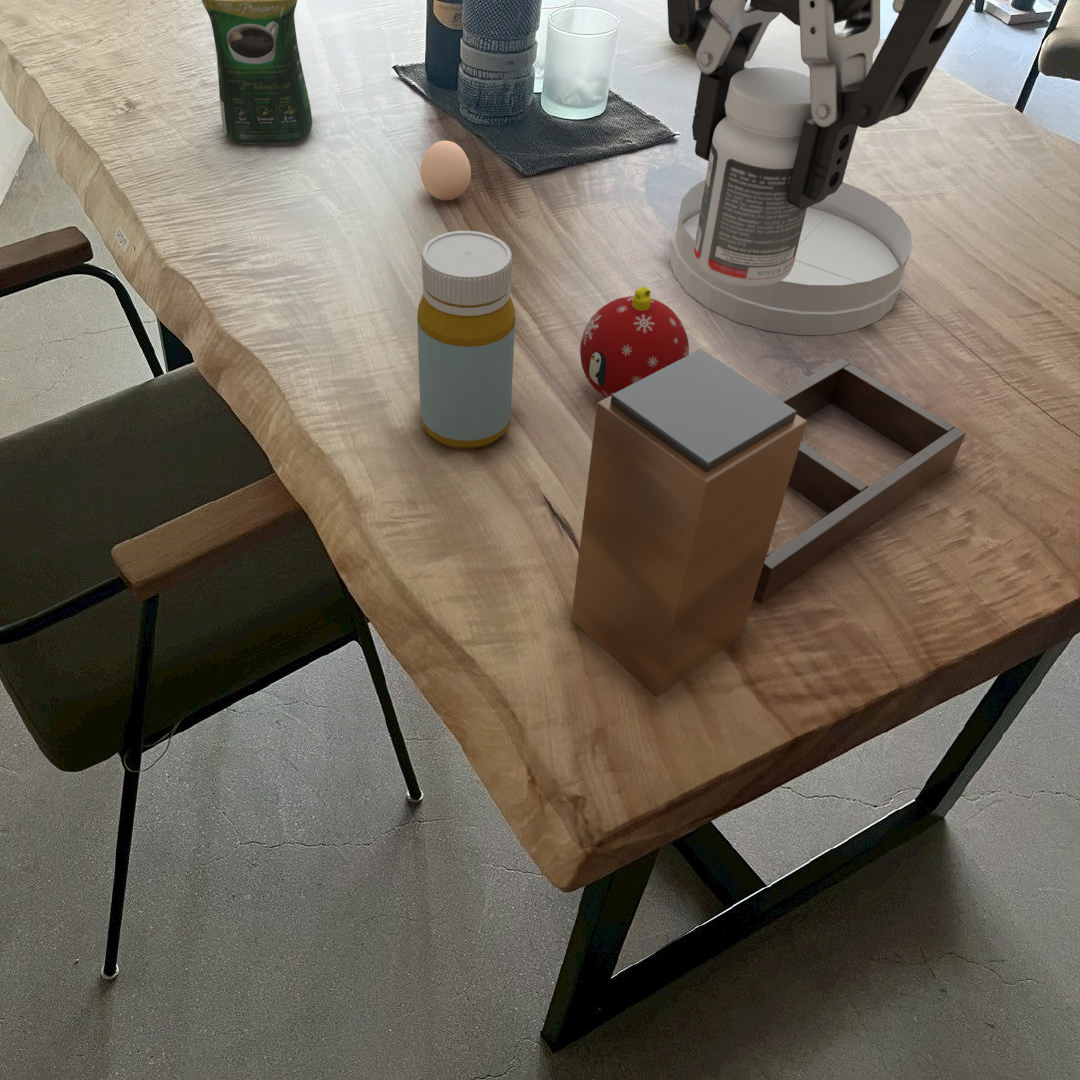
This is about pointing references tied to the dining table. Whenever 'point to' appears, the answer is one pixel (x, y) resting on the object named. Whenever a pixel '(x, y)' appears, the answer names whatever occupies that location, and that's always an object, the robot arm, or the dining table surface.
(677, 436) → the coaster
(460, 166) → the egg
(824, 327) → the dish
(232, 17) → the coffee jar
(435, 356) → the bottle
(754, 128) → the pill bottle
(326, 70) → the dining table surface
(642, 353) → the christmas ornament
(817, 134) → the robot arm
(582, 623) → the riser
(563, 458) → the dining table surface
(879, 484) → the rack
